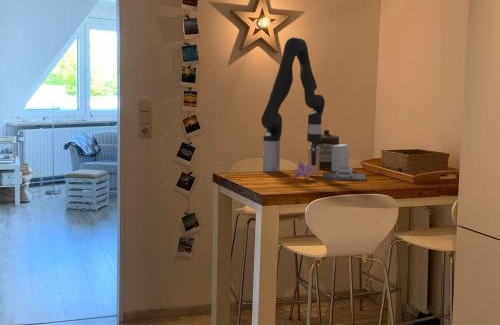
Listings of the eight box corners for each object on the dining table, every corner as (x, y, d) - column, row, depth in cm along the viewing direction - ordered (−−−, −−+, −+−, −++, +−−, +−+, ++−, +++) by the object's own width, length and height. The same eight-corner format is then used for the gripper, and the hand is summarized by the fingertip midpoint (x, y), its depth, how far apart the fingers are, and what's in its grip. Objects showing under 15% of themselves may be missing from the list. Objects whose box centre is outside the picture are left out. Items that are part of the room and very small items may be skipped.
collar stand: (322, 179, 319) (323, 170, 318) (323, 174, 335) (323, 165, 334) (366, 180, 316) (366, 171, 316) (364, 175, 332) (364, 166, 331)
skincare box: (341, 169, 351) (341, 143, 349) (349, 171, 347) (349, 144, 345) (330, 171, 346) (331, 144, 344) (338, 172, 342) (339, 145, 339)
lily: (318, 180, 322) (314, 163, 325) (316, 175, 311) (311, 158, 314) (296, 187, 324) (292, 170, 326) (293, 182, 312) (288, 164, 315)
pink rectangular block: (307, 174, 328) (308, 148, 326) (307, 173, 332) (308, 147, 330) (319, 175, 327) (320, 149, 325) (319, 173, 331) (320, 148, 329)
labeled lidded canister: (312, 168, 354) (313, 130, 351) (314, 164, 369) (314, 128, 365) (338, 169, 352) (339, 131, 349) (339, 165, 366) (340, 128, 363)
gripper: (307, 131, 334) (307, 162, 336) (306, 133, 320) (305, 166, 322) (321, 131, 333) (320, 162, 335) (321, 134, 319) (320, 167, 321)
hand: (313, 164), depth 329 cm, fingers closed on pink rectangular block, 4 cm apart
